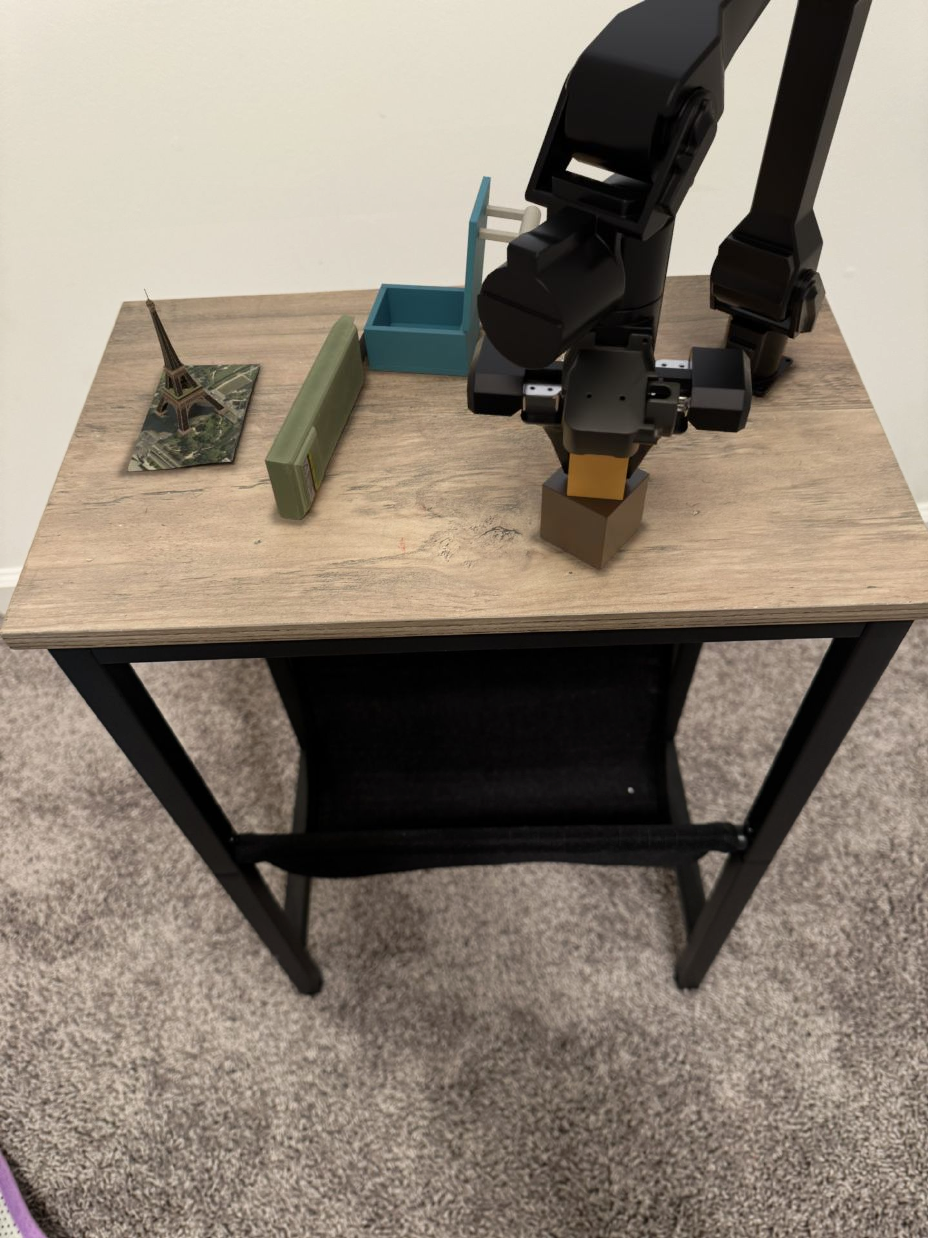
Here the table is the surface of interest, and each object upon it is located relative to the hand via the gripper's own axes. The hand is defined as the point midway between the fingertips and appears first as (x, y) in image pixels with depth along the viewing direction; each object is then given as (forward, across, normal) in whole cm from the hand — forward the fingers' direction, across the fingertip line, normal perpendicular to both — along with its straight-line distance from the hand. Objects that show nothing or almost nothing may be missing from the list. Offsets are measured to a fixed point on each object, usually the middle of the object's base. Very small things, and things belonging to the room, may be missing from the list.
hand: (596, 472), depth 63 cm
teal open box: (+7, -19, +24) cm, 31 cm away
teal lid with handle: (-4, -13, +24) cm, 27 cm away
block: (+1, 0, 0) cm, 1 cm away
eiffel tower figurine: (+7, -39, +11) cm, 41 cm away
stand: (+7, 0, 0) cm, 7 cm away
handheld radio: (+7, -25, +11) cm, 28 cm away
